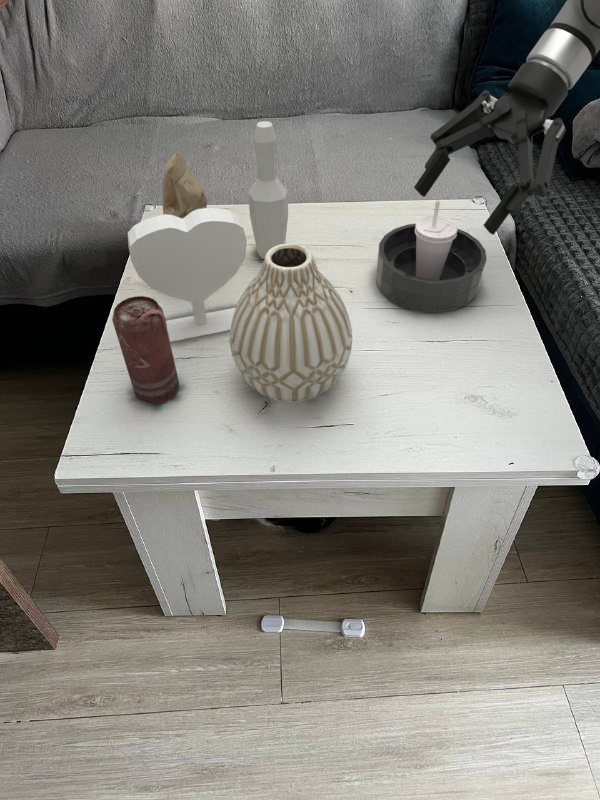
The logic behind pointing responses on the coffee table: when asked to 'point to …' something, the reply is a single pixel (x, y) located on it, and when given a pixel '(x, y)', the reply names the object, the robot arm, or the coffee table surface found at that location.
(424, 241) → the smoothie
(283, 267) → the vase
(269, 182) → the low poly bottle
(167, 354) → the can
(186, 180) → the tan rock
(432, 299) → the bowl
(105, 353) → the coffee table surface
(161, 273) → the heart sculpture
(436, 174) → the robot arm
